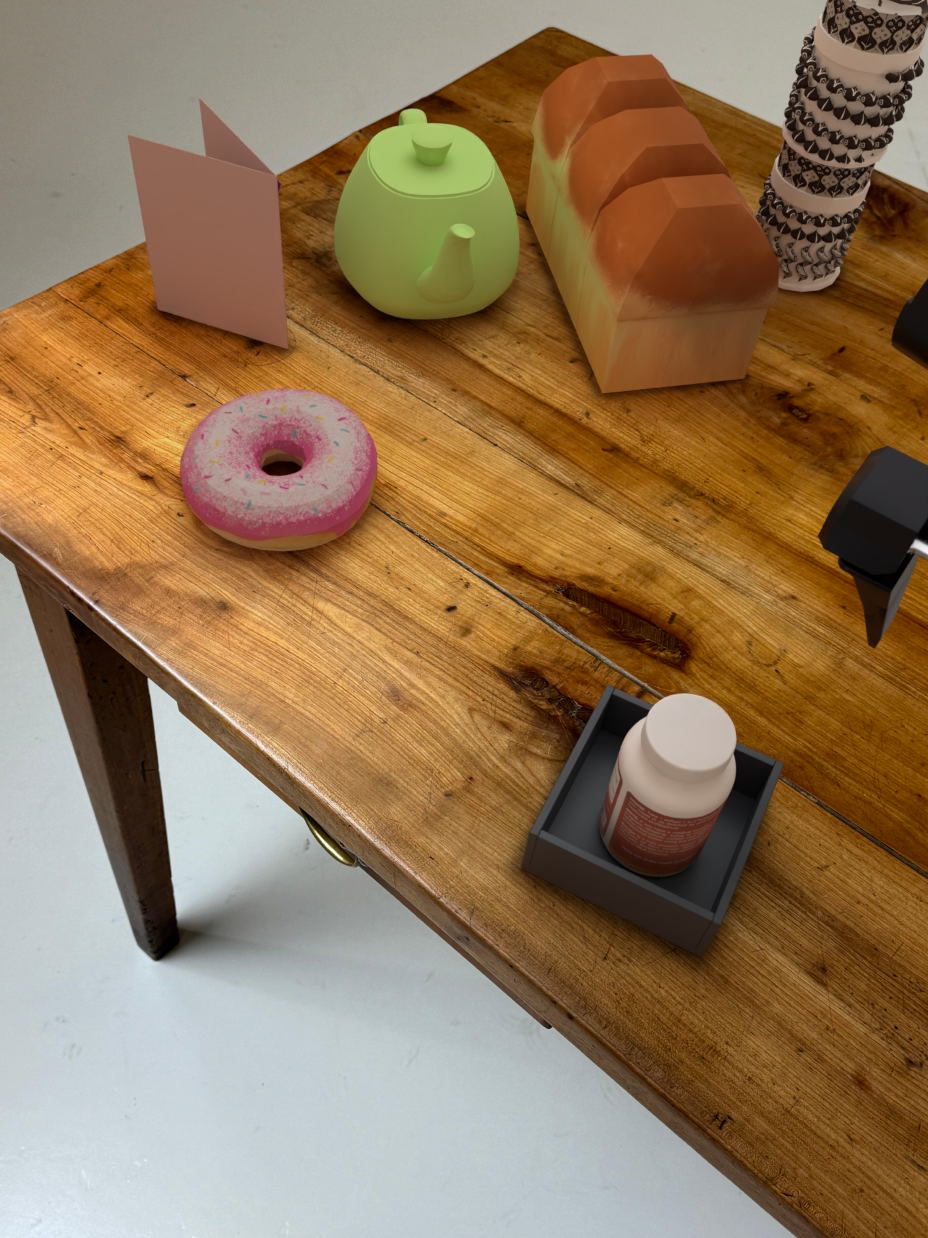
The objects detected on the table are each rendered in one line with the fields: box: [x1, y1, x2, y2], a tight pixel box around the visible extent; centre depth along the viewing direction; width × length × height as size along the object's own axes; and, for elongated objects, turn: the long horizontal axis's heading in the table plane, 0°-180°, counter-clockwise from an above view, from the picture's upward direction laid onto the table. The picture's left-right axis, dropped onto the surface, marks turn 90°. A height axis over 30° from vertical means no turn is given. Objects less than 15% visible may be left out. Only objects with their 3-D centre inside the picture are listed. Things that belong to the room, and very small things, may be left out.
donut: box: [179, 388, 378, 552], centre depth 81 cm, size 14×13×5 cm
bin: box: [520, 684, 785, 958], centre depth 67 cm, size 11×11×4 cm
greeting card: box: [127, 96, 289, 350], centre depth 87 cm, size 11×7×15 cm, turn 35°
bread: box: [525, 53, 780, 394], centre depth 93 cm, size 25×12×15 cm, turn 13°
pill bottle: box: [599, 692, 737, 877], centre depth 64 cm, size 6×6×11 cm
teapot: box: [333, 108, 521, 320], centre depth 92 cm, size 22×15×13 cm
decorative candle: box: [754, 0, 928, 293], centre depth 93 cm, size 9×9×25 cm
